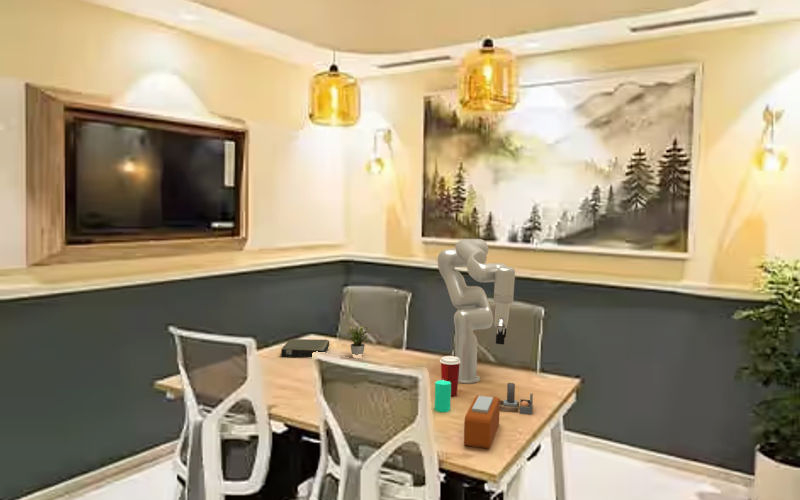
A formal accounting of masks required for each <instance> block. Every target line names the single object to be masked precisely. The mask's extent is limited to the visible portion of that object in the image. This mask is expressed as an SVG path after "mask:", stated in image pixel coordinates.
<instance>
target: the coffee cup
mask: <svg viewBox="0 0 800 500" xmlns="http://www.w3.org/2000/svg"><path fill="white" fill-rule="evenodd" d="M439 362H440V371H441V373H440V374H441V380H444V381H450V383H451V397H454V398H455V397H456V396H457V395H458V389H459V388H458V385H459V382H458V377H459V365H460V360H459V358H458V357H455V356H453V355H446V356H442V357H441V358H440V360H439Z"/></svg>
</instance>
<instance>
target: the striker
mask: <svg viewBox="0 0 800 500" xmlns="http://www.w3.org/2000/svg"><path fill="white" fill-rule="evenodd" d="M506 386H507V387H506V388H507V389H506V399H504V400H503V401H504V405H503V406H508V407H517V402H518V400H515V397H516V395H515V394H516V392H515V390H516V389H515V387H516V383H514V382H508V383H507V385H506Z"/></svg>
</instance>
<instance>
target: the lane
mask: <svg viewBox="0 0 800 500" xmlns="http://www.w3.org/2000/svg"><path fill="white" fill-rule="evenodd" d="M519 408H520V402H519V401H517V407H508V406H504V400H503V399H500V412H510V413H519Z"/></svg>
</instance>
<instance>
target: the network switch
mask: <svg viewBox="0 0 800 500" xmlns="http://www.w3.org/2000/svg"><path fill="white" fill-rule="evenodd" d="M328 347H329V348H330V340H328V339H309V338H308V339H306V338H305V339H302V338H298V339H295V338H291V339H288V341H286V343H284V345H283V347H282V348H281V349H280V350H281V353H280V356H281V358H283V357H287V358H302V357H312V353H313V352H316V351H318V352H326V353H327V351H328V350H329V349H328ZM327 349H328V350H327Z"/></svg>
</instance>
